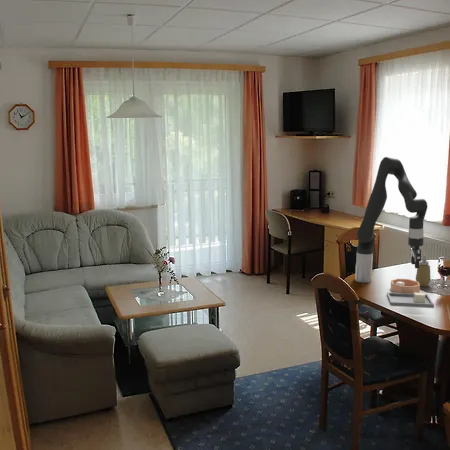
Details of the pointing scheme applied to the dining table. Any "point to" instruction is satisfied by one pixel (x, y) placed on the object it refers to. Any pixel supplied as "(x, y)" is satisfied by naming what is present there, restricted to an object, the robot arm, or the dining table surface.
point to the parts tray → (408, 300)
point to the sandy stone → (419, 297)
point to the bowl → (405, 286)
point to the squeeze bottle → (423, 272)
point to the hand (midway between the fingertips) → (415, 266)
